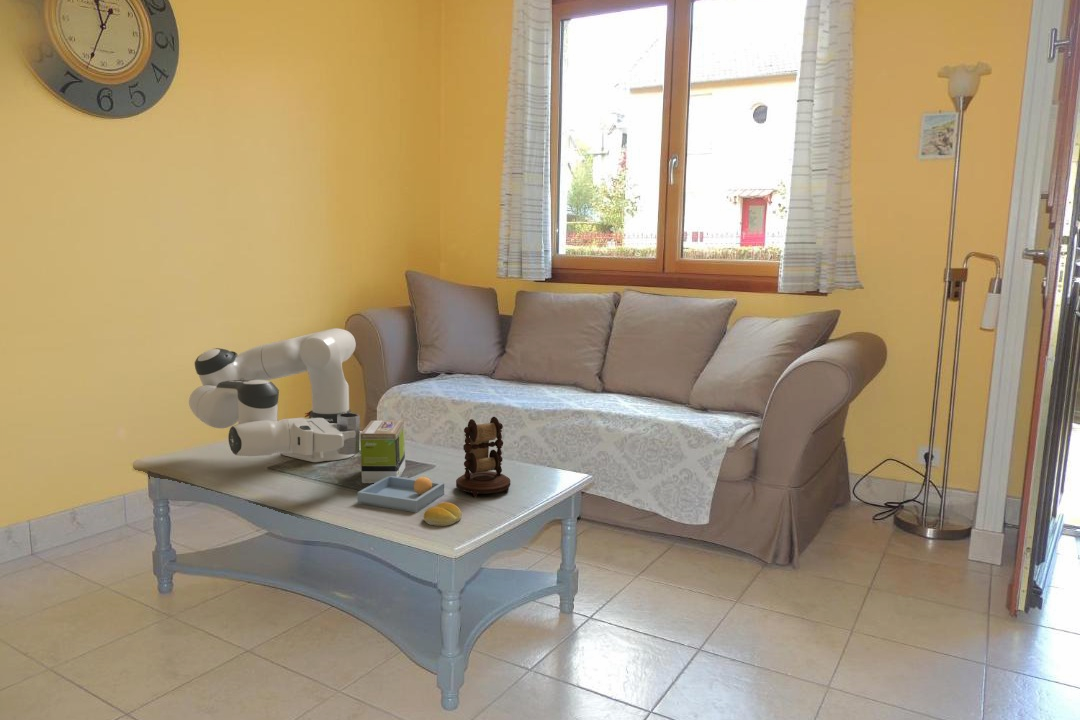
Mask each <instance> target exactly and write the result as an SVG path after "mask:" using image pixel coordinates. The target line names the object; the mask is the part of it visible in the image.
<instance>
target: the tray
mask: <svg viewBox="0 0 1080 720" xmlns="http://www.w3.org/2000/svg"><path fill="white" fill-rule="evenodd" d="M415 481H416V479H415V478H409V477H403V476H402V477H401V476H400V477H395V476H387V477H385V478H383V479H381V480H379V481H378V482H376V483H374V484H370V485H368V486H367V487H365V488H363V489H361V490H359V491H357V505H358V504H359V505H366V506H371V507H378V508H379V507H380V508H386V509H390V508H391V510H397V511H403V512H404V511H405V512H410V513H419V512H420V511H421V510H422V509H425V508H426V507H427V506H429V505H430V504H432V503H433V502H434V501H436V500H438V499H439V498H441V497H442V496H443V495H445V483H444V482H437V481H431V482H432V489H430V490H429V491H427V492H426V493H424V494H422V495H419V494H417V493H416V492H415V490H414V482H415Z"/></svg>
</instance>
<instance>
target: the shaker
mask: <svg viewBox="0 0 1080 720" xmlns="http://www.w3.org/2000/svg"><path fill="white" fill-rule="evenodd" d="M360 424H361V415H360V414H358V413H356V412H355V413H354V412H351V413H341V414H338V415H337V430H339V431H342V432H345V431H347V430H354V431H355V432H356V436H355V437H354V438H348V439H346V440H344V446H343V447H342V448H340V449H337V452H338V453H339V454H344V455H351V454H355V455H357V454H358V453H360V434H361V433H360V430H361V428H360V427H361V425H360Z"/></svg>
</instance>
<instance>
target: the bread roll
mask: <svg viewBox="0 0 1080 720" xmlns="http://www.w3.org/2000/svg"><path fill="white" fill-rule="evenodd" d="M462 515H463V514H462V511H461V509H460V508H459V507H458V506H457V505H456V504H454V503H452V502H447V501H445V502H440V503H437V504H436V505H435V506H432V507H429V508H428V509H426V510H425V511H424V514H423V520H424V522H425V523H426V524H428V525H430V526H433V525H434V526H435V527H446V526H452V525H453V524H455V523H458V522H459V521H460V520H461V519H462V518H463V517H462ZM434 526H433V527H434Z"/></svg>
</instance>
